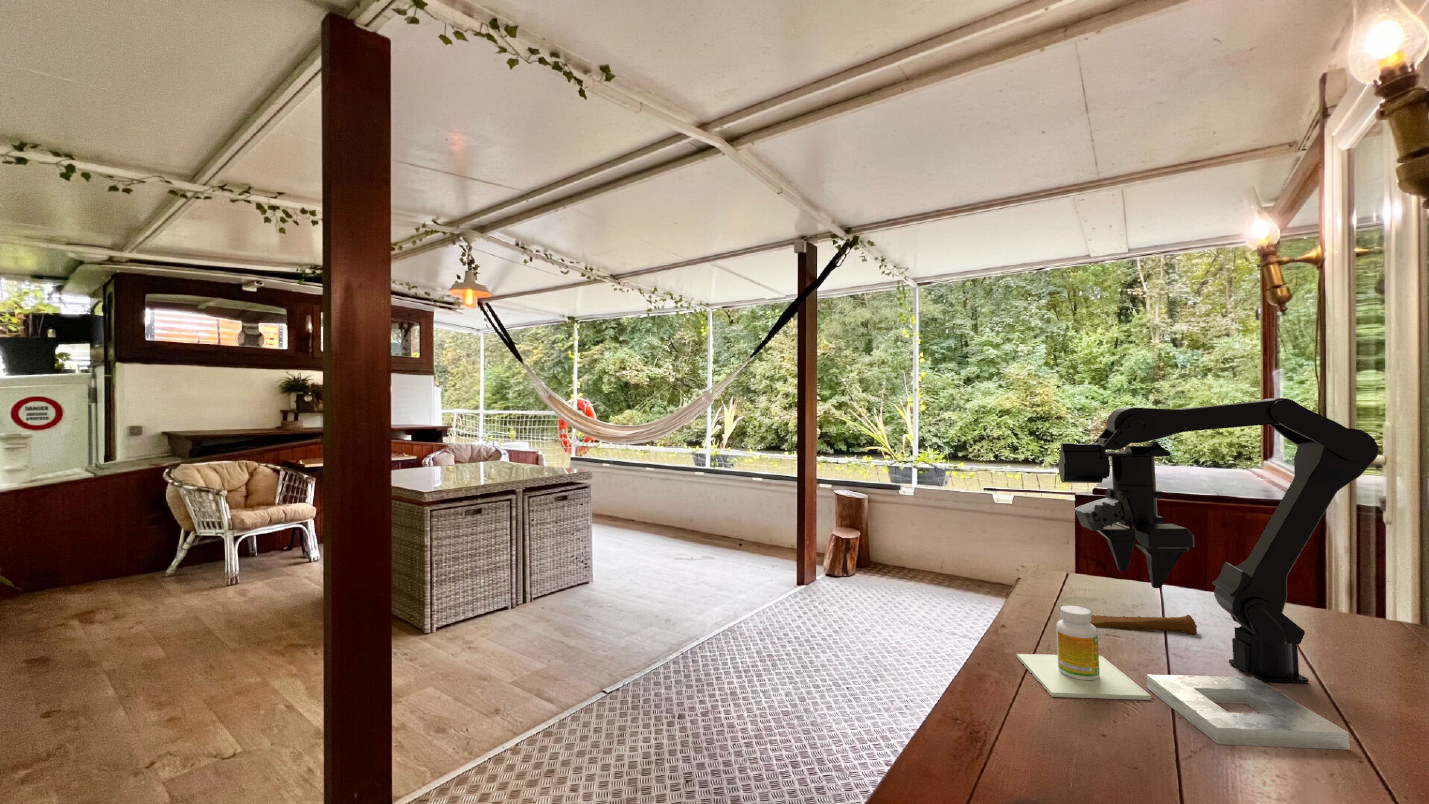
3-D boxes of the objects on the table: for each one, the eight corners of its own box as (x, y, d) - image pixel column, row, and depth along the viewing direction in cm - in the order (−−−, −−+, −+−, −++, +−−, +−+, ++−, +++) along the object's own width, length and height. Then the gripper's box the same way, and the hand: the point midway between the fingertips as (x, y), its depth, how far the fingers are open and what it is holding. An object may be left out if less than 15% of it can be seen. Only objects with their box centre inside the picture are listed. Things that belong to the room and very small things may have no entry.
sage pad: (1101, 659, 92) (1101, 655, 92) (1150, 699, 79) (1150, 695, 79) (1017, 657, 94) (1016, 653, 94) (1052, 696, 81) (1051, 692, 81)
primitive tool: (1074, 627, 107) (1073, 608, 107) (1068, 617, 112) (1067, 599, 112) (1201, 639, 99) (1200, 619, 100) (1188, 628, 105) (1187, 609, 105)
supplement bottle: (1103, 683, 83) (1100, 617, 83) (1061, 678, 85) (1058, 614, 85) (1095, 667, 88) (1092, 605, 88) (1055, 663, 90) (1052, 602, 90)
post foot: (1254, 691, 81) (1253, 677, 81) (1349, 749, 67) (1348, 732, 67) (1147, 688, 83) (1146, 674, 83) (1218, 744, 69) (1217, 727, 69)
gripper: (1055, 477, 103) (1059, 563, 102) (1111, 492, 84) (1117, 597, 84) (1121, 476, 101) (1126, 563, 101) (1194, 491, 83) (1200, 598, 82)
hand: (1138, 579), depth 92 cm, fingers open, 9 cm apart
